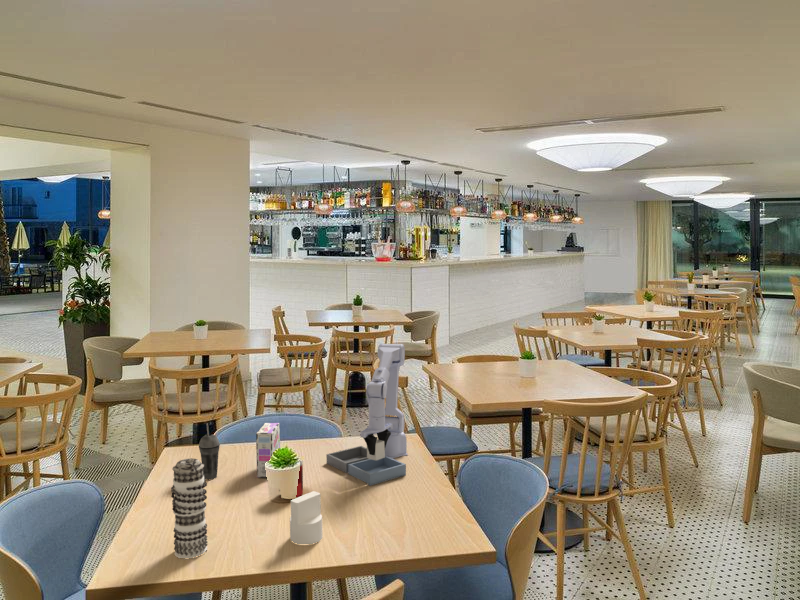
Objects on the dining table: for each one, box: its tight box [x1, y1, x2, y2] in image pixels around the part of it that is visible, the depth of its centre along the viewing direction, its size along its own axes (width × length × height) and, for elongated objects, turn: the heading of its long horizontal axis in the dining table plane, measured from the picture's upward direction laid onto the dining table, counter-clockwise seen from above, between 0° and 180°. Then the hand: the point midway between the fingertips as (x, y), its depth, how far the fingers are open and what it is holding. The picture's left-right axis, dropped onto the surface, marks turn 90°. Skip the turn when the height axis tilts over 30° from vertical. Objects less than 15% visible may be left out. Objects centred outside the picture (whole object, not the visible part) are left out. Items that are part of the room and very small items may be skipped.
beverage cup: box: [198, 422, 221, 480], centre depth 225 cm, size 7×7×20 cm
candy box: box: [255, 422, 281, 479], centre depth 231 cm, size 14×6×16 cm, turn 179°
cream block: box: [366, 438, 385, 460], centre depth 227 cm, size 4×4×6 cm
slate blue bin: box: [347, 456, 407, 487], centre depth 227 cm, size 16×13×4 cm
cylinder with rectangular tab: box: [289, 490, 323, 545], centre depth 178 cm, size 9×9×12 cm
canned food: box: [296, 459, 304, 498], centre depth 209 cm, size 8×8×11 cm
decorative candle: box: [170, 457, 208, 559], centre depth 170 cm, size 9×9×25 cm
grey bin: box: [326, 445, 368, 474], centre depth 238 cm, size 16×13×4 cm
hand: (377, 452), depth 227 cm, fingers closed on cream block, 4 cm apart
